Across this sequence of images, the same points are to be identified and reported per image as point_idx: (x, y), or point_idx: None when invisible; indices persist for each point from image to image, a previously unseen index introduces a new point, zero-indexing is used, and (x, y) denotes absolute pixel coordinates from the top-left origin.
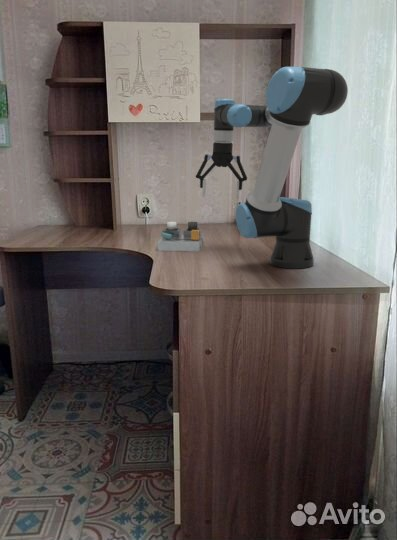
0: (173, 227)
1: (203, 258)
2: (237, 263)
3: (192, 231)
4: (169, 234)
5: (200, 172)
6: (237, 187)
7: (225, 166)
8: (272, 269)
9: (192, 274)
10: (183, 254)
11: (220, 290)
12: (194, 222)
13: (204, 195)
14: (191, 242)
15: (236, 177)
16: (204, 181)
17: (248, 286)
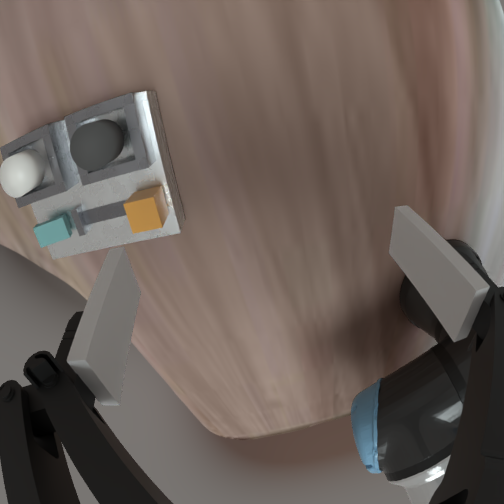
0: (37, 185)
1: (228, 291)
2: (327, 313)
3: (138, 232)
4: (56, 225)
5: (65, 472)
6: (434, 307)
7: None
8: (395, 332)
9: (248, 394)
10: (152, 261)
11: (307, 427)
12: (100, 149)
13: (135, 286)
14: (153, 236)
15: (468, 376)
16: (119, 396)
17: (344, 409)
